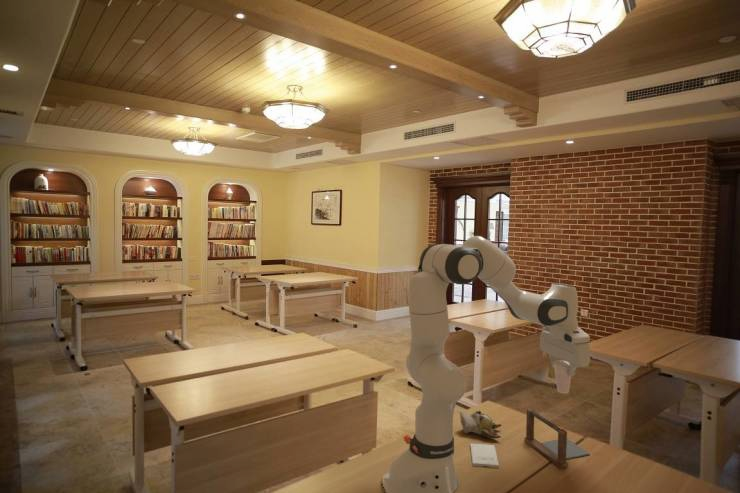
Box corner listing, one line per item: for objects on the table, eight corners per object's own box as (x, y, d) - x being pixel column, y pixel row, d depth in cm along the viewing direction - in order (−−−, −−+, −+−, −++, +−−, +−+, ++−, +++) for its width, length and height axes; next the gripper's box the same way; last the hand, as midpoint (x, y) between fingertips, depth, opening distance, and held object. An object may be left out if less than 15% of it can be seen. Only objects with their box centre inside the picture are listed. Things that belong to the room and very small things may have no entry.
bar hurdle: (559, 468, 142) (560, 432, 141) (524, 440, 159) (525, 408, 158) (567, 466, 143) (568, 431, 142) (531, 439, 160) (532, 407, 159)
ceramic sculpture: (461, 402, 171) (502, 409, 167) (460, 423, 172) (500, 431, 168) (458, 414, 161) (502, 422, 157) (457, 437, 162) (500, 445, 158)
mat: (562, 460, 146) (562, 458, 146) (540, 444, 157) (540, 442, 157) (589, 455, 150) (589, 453, 150) (566, 439, 160) (566, 437, 160)
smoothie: (550, 392, 151) (550, 351, 150) (555, 386, 156) (555, 346, 155) (570, 396, 147) (571, 355, 146) (575, 390, 152) (575, 349, 151)
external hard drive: (494, 449, 154) (499, 469, 142) (470, 447, 156) (472, 467, 143) (494, 445, 154) (499, 464, 142) (470, 443, 156) (472, 462, 143)
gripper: (535, 324, 159) (535, 362, 160) (577, 340, 139) (577, 383, 141) (550, 323, 161) (549, 360, 162) (594, 337, 141) (593, 380, 142)
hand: (563, 371), depth 151 cm, fingers closed on smoothie, 6 cm apart
